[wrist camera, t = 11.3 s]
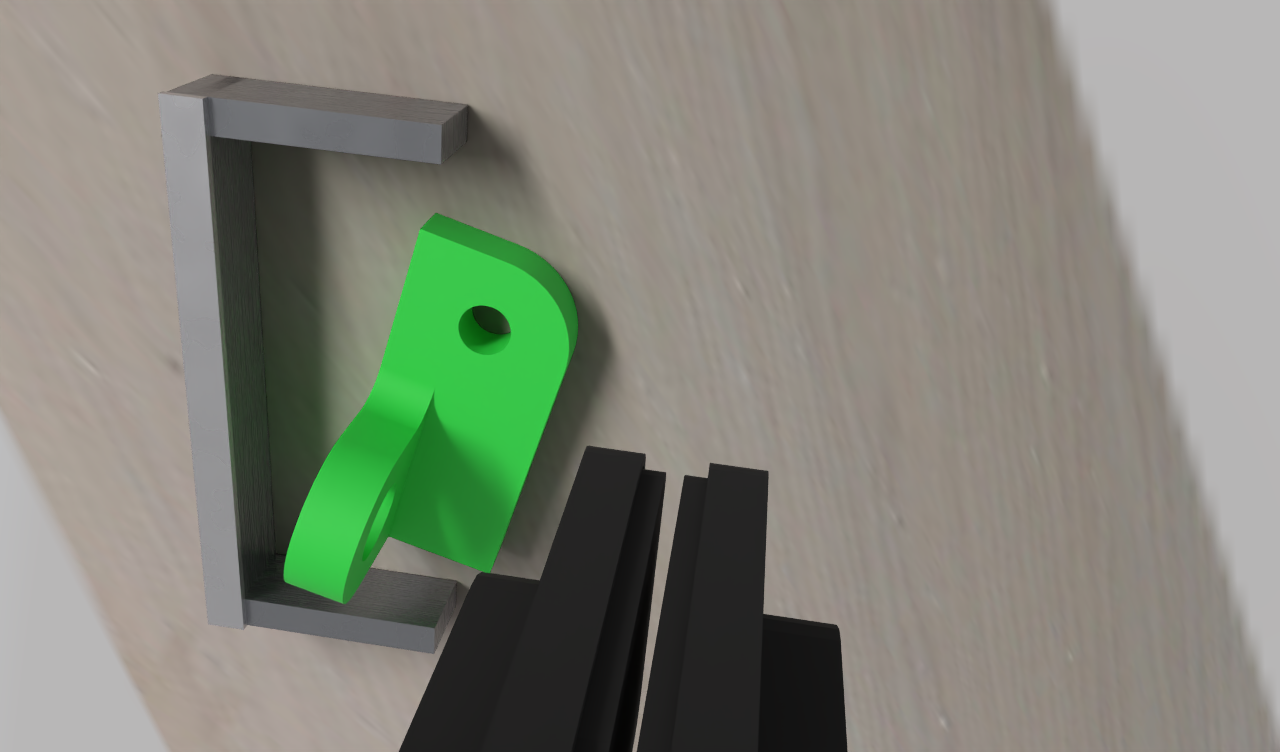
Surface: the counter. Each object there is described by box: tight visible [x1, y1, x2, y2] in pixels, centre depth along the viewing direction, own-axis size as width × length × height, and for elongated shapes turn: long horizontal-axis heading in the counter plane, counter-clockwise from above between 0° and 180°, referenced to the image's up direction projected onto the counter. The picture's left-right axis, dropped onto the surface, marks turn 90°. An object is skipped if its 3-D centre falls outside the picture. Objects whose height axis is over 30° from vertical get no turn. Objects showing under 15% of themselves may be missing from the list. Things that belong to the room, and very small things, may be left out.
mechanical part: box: [284, 213, 578, 604], centre depth 37 cm, size 12×6×8 cm, turn 160°
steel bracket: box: [158, 74, 468, 654], centre depth 39 cm, size 20×9×3 cm, turn 175°
